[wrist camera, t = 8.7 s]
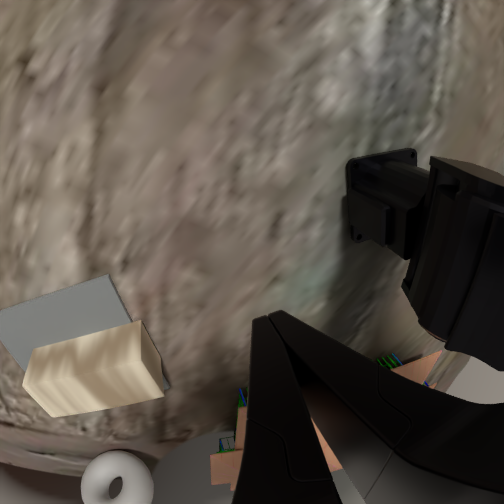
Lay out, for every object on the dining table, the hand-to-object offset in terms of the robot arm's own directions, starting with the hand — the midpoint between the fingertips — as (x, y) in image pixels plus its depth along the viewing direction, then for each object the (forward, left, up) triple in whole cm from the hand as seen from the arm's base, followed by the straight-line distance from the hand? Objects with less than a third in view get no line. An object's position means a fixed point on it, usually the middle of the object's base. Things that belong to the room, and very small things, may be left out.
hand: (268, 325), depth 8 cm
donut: (+19, +25, -12) cm, 34 cm away
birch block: (+7, +9, -10) cm, 15 cm away
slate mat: (+13, +9, -12) cm, 20 cm away
